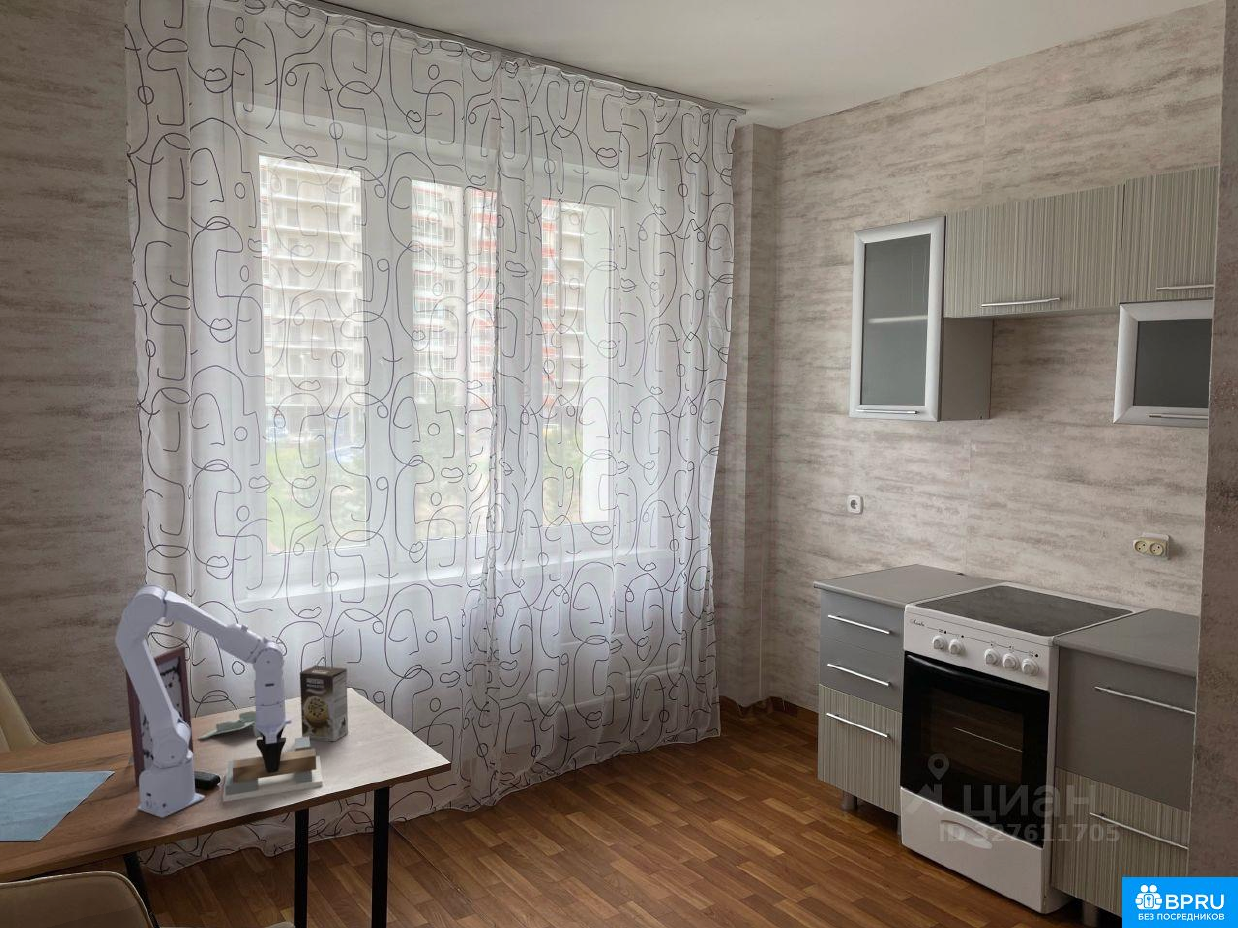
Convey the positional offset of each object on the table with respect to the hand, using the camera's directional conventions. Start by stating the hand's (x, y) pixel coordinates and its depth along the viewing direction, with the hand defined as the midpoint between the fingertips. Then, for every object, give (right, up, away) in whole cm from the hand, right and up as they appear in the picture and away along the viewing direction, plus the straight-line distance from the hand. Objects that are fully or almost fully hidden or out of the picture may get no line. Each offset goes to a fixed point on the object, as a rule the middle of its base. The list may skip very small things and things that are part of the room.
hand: (272, 764), depth 183 cm
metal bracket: (-20, -3, +31) cm, 37 cm away
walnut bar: (0, -2, 0) cm, 2 cm away
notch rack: (-1, -4, +3) cm, 6 cm away
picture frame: (-32, -4, +10) cm, 34 cm away
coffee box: (+2, -3, +27) cm, 28 cm away
